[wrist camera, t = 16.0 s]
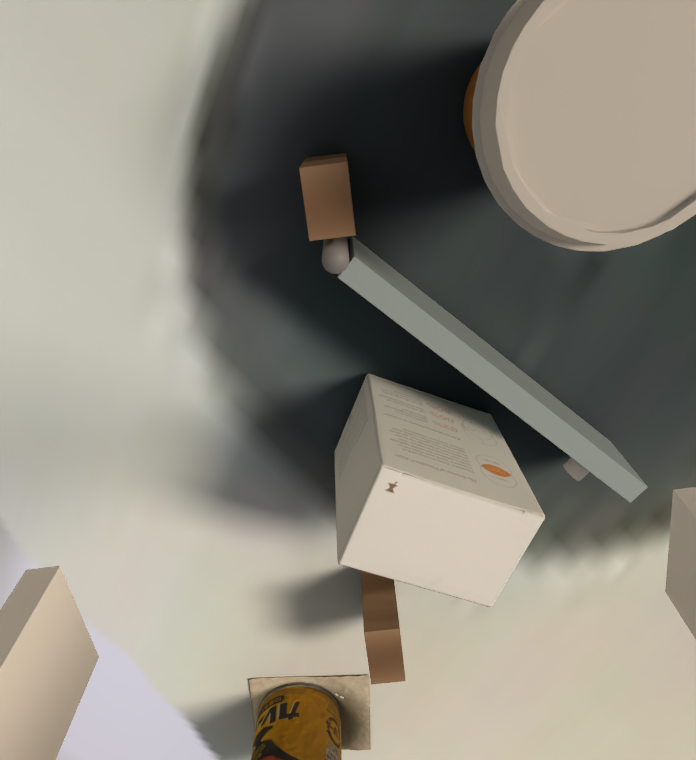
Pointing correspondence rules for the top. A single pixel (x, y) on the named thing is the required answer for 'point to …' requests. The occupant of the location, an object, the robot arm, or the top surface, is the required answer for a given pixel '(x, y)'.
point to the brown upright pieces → (381, 624)
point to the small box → (430, 494)
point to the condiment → (309, 717)
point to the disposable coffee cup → (589, 119)
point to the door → (480, 364)
